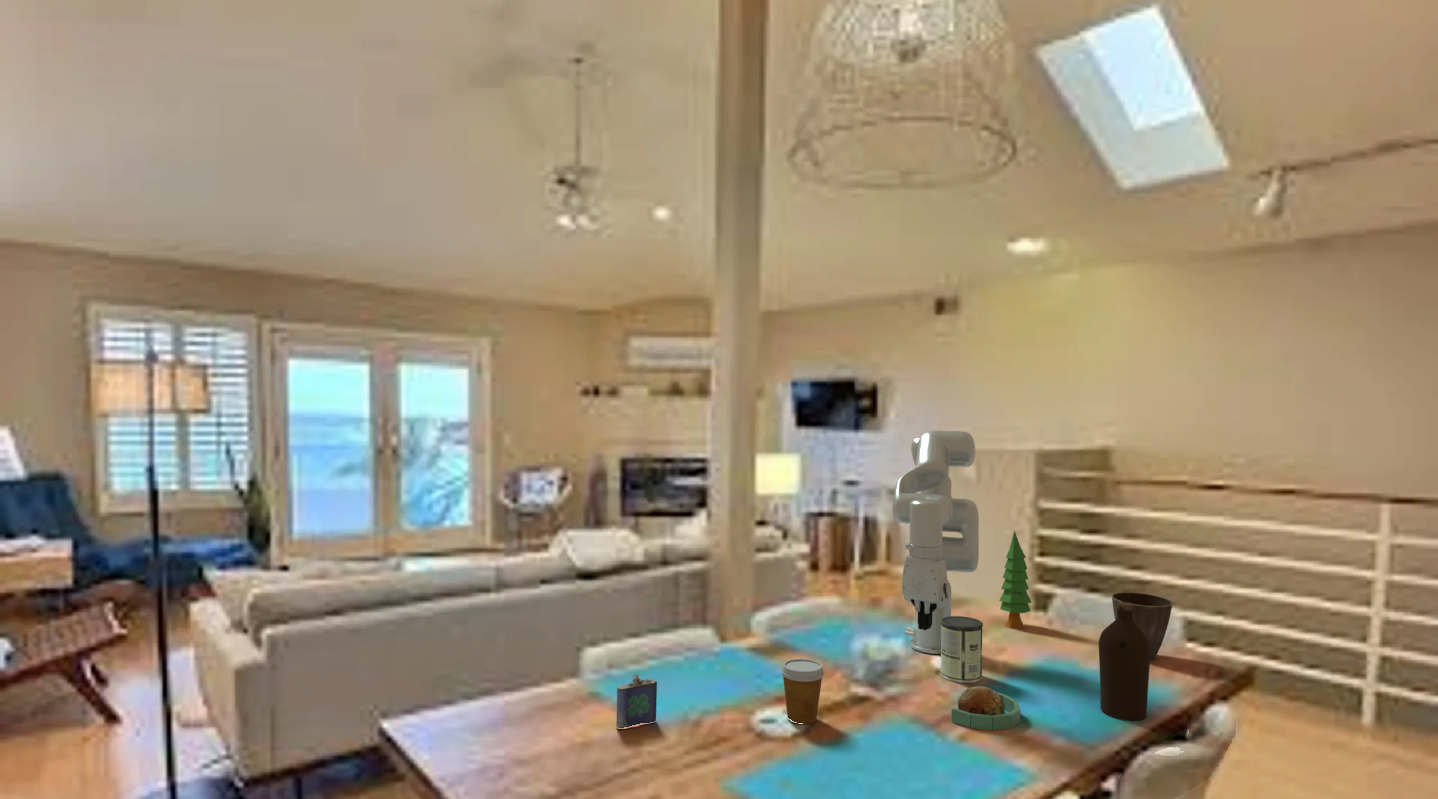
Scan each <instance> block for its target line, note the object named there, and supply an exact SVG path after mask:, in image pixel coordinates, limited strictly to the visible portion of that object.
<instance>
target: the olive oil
mask: <svg viewBox="0 0 1438 799" xmlns="http://www.w3.org/2000/svg"><path fill="white" fill-rule="evenodd" d="M1117 606H1118V608H1117V618H1116V620H1115V619H1114V620H1113V622H1111V623H1110V624H1109V625H1108V626H1106V627H1105V628H1104V629H1103V630H1102V631H1101V633H1100V636H1099V638H1098V659H1099V688H1100V689H1099V690H1100V691H1099V694H1100V698H1099V700H1100V710H1101V712H1102V713H1103V714H1104V715H1107V716H1109V717H1111V718H1114V719H1117V720H1123V721H1129V722H1130V721H1131V722H1132V721H1133V722H1135V721H1136V722H1137V721H1143V720H1145V719H1146V718H1147V715H1148V695H1149V692H1148V691H1149V683H1150V682H1149V681H1150V680H1149V679H1150V666H1151V660H1150V656H1151V647H1150V643H1149V640H1148V638H1147V636H1146V635H1145V634H1144V632H1143V631H1142V630H1141V629H1140V628H1139V627H1138V626H1137V625H1136V624H1135V622H1134V621H1133V610H1132V607H1133V604H1132V603H1129V602H1118V603H1117Z"/></svg>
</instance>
